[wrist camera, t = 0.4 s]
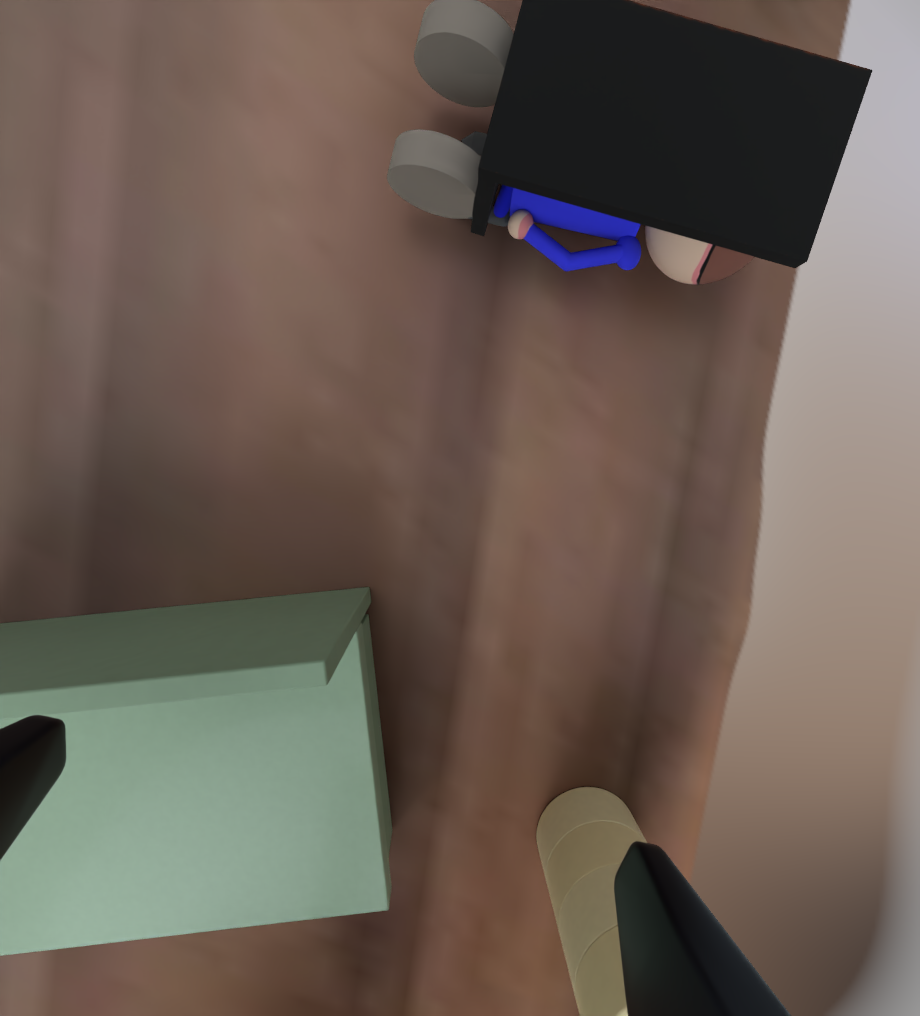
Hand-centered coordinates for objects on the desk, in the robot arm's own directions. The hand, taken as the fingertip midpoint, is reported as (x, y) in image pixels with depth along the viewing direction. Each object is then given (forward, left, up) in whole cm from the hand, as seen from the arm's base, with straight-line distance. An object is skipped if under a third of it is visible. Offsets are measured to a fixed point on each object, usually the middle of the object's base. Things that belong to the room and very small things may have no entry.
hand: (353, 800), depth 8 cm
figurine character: (+16, +9, -16) cm, 24 cm away
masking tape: (-1, -16, -16) cm, 22 cm away
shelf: (-13, 0, -16) cm, 21 cm away
